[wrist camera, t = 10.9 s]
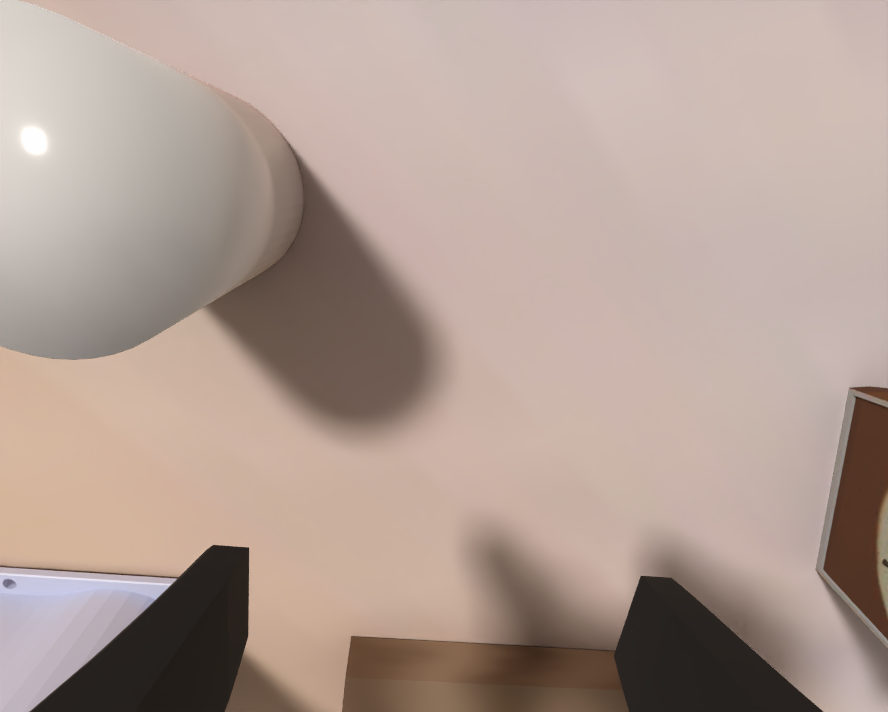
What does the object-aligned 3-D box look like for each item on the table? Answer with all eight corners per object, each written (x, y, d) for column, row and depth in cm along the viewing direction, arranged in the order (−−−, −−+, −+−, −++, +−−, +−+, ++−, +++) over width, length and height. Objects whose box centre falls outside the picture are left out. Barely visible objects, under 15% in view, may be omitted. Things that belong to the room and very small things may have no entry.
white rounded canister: (121, 269, 17) (-117, 341, 9) (106, 72, 15) (-211, -40, 7) (300, 291, 17) (212, 375, 10) (308, 104, 15) (206, 31, 8)
